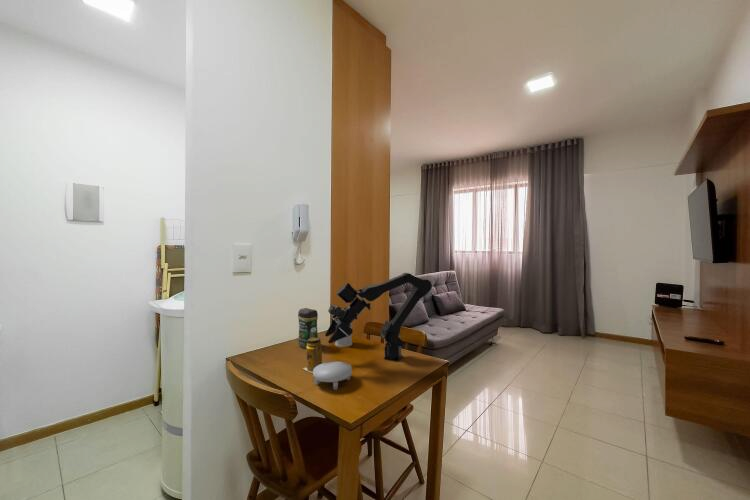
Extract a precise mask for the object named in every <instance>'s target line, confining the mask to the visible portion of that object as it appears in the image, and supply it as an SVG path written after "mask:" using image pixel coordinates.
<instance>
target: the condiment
mask: <svg viewBox="0 0 750 500" xmlns="http://www.w3.org/2000/svg"><path fill="white" fill-rule="evenodd" d="M321 340H322V339H321V338H319V337H318V338H316V337H315V338H309V339H308V340H307V349H306V348H305V350H306V367H304V368H303V367H302V369H303V370H305V372H306V371H307V372H309V373H312V374H313V369H314V368H315V367H316V366H318V365H320V364H323V350H322V349H323V348H322V347H323V346H322V344H321Z"/></svg>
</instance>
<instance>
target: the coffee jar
mask: <svg viewBox="0 0 750 500" xmlns="http://www.w3.org/2000/svg"><path fill="white" fill-rule="evenodd" d="M318 317H319V314H318V310H316V309H311V308H309V307H308V308H307V307H304V308H300V309H299V310H298V312H297V318H298V346H299V347H301V348H302V349H305V350H306V349H307V340H308V339H309V338H315V337H316V338H319V336H318V319H319V318H318Z"/></svg>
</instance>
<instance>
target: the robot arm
mask: <svg viewBox="0 0 750 500" xmlns="http://www.w3.org/2000/svg"><path fill="white" fill-rule="evenodd" d="M405 284H410V285H412V287H411V290H410V294H408V295H409V296H408V297H407V298H406V300H405V301H404V302H403V304H402V305H401V307H400V308H399V310H398V311H397V312H396V314H395V316H394V317H393V318H392V319H391V320H389V321H388V320H387V319H386V320H385V322H384V324H383V325H382V326H381V327H380V328H381V330H380V336H381V337H382V339H383V340H384V341H385V342H386V343H385V346H384V356H383V359H384V360H387V361H394V362H399V361H400V360H401V359H402V358H403V357H404V355H403V354H402V346H403V343H404V341H403V340H402V339H401V338H400V337H399V336H400V334H401V329H402V325H403V324H404V323H405V321H406V320H407V319H408V317H409V315H410V314H411V312H412V311H413V310H414V308H415V307H416V305H417V304H418V302H419V301H420V300H421V299H422V298H423V297H425V296H426V295H427V294H429V292H431V290H432V288H433V286H432V282H431V281H430V280H429V279H427V278H426V279H425V278H422V277H418V276H415V275H413V274H411V273H410V272H404V273H402V274H400V275H398V276H395V277H393V278H391V279H387V280H385V281H384V282H381V283H375V284H370V285H366V286H363V287H362V288H360V289H355V288H353V286H352V285H351V284H350V283H349V282H347V283H345V284H344V285H342V286H340V287H339V289H338V290H337V292H336V295H337V297H339V299H341V301H342V302H344V304H348V306H344V307H343V308H342V307H341V306H338V305H334V304H330V305H329V308H328V310H327V312H328V314H330V315H331V317H330V321H331V322H330V325H329V327H328V329H327V330H326V332H325V334H324V336H325V337H330V336H331V337H330V338H329V340H328V341H327V343H329V344H332V343H336V341H337V340H339V339H342V338H344V337H348V336H350V335H351V336H352V335H353V333H354V332H353V327H352V323H353V322H354V321H355V320H358V319H359V318H358V317H359V315H360V314H361V313H362V312H363V311H364V309H365V308H366V309H367V310H368V311H370V310H371V303H370V302H373V301H375V300H377V299H378V298H380V297H381V296H382V295H384V293H386V292H389V291H392V290H394V289H396V288H398V287H401V286H402V285H405ZM367 301H368V302H367ZM350 324H351V325H350ZM350 326H351V327H350ZM347 335H348V336H347Z"/></svg>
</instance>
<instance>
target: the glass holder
mask: <svg viewBox="0 0 750 500" xmlns="http://www.w3.org/2000/svg"><path fill="white" fill-rule="evenodd" d="M350 325H351V326H350V327H351V328H352V323H351V324H350ZM347 336H348V335H347ZM352 345H353V341H352V334H351V335H350V336H348V337H344V338H342V339H339V340H337V341H335V342H334V346H336V347H339V348H342V347H343V348H346V347H351V346H352Z"/></svg>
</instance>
